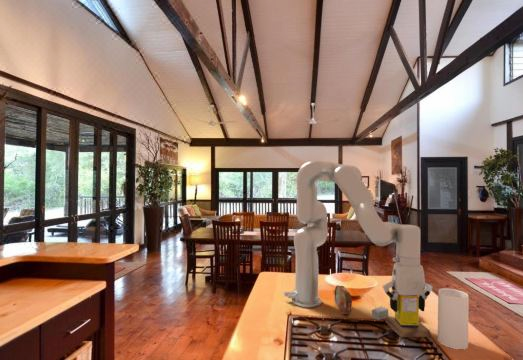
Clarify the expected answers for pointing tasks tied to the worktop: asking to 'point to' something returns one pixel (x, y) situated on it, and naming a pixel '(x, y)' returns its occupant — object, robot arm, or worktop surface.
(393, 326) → the walnut slab
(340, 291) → the tin
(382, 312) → the slate brick
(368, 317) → the worktop surface
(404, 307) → the supplement box
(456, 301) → the cup
